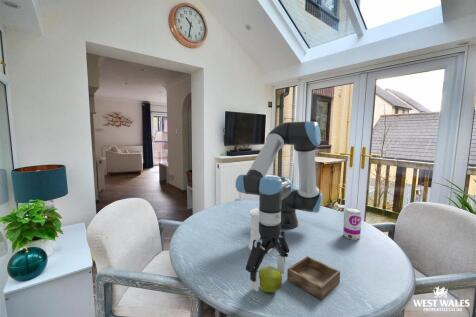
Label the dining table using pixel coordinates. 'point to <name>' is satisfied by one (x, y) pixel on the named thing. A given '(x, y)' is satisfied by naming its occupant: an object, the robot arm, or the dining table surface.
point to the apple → (270, 279)
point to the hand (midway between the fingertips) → (268, 280)
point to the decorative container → (255, 228)
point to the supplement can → (352, 223)
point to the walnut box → (313, 277)
